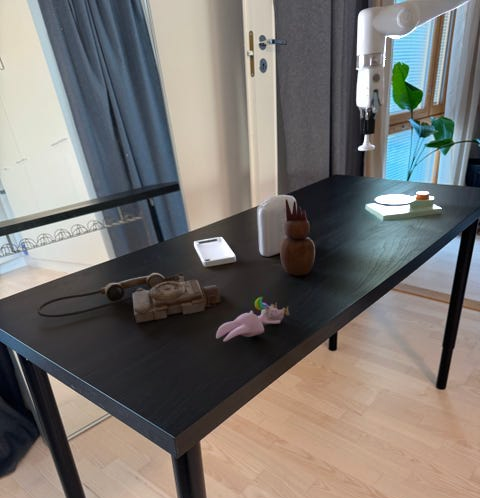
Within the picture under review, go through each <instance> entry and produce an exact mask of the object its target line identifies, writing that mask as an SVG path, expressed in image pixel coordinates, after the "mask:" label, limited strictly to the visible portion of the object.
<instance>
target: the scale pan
mask: <svg viewBox="0 0 480 498" xmlns="http://www.w3.org/2000/svg"><path fill="white" fill-rule="evenodd" d="M413 202H414V198H413V197H412V196H410V195H406V194H384V195H380V196H377V197H375V198H374V203H376V204H378V205H382V206H391V207H396V206H406V205H410V204H412V203H413Z"/></svg>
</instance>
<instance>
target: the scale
mask: <svg viewBox="0 0 480 498" xmlns="http://www.w3.org/2000/svg"><path fill="white" fill-rule="evenodd" d="M411 197H413V198H414V202H413V203H412V204H410V205H406V206H396V207H391V206H382V205H378V204H376V203H375V202H374V203H366V204H365V207H364V209H365V210H366V211H367V212H369V213H370V214H372V215H373V216H375V217H376V218H378V219H379V220H381V221H382V222H384V221H393V220H399V219H409V218H416V217H422V216H430V215H439V214H442V212H443V211H442V210H443V208H442V207H440V206H438V205H436V204H435V198H436V197H434V196H432V195H429V199H427V200H418V199H416V195H413V196H411Z"/></svg>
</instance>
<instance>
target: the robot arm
mask: <svg viewBox="0 0 480 498" xmlns="http://www.w3.org/2000/svg"><path fill="white" fill-rule="evenodd" d="M470 1H471V0H404V1H399V2H397V3H394V4H390V5H386V6H374V7H367V8H364V9H362V10H360V11H359V13H358V16H357V34H356V35H357V36H356V37H357V38H356V40H357V41H356V66H355V67H356V68H355V70H356V71H357V79H356V80H357V81H356V92H355V94H356V95H355V96H356V97H355V98H356V99H355V102H356V107H358V110H359V112H360V113H359V119H360V120H359V121H360V122H359V134H360V135H364V136H365V135H368V134H369V135H374V134H375V133H376V131H375V130H376V119H377V113H378V111H379V110H380V108H381V107H383V106H384V104H385V69H384V67H385V60H386V59H385V58H386V44H387V43H386V42H387V37H389V38H391V39H400V38H403V37H405V36H408V35H410V34H411V33H412V32H413V31H414V30H416V29H418V28H419V27H421V26H423V25H425V24H426V23H429V22H430V21H433V20H434V19H435V18H437V17H440V16H442V15H444V14H446V13H449V12H452V11H454V10H456V9H458V8H460V7H462V6H463V5H465V4H467V3H469V2H470Z"/></svg>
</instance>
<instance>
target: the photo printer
mask: <svg viewBox="0 0 480 498" xmlns="http://www.w3.org/2000/svg"><path fill="white" fill-rule="evenodd" d="M286 199H287V200H288V204H289V207H290V210H291V213H292V212H293V204H294V201H295V203H296V209H297V210H298V204H297V200H296V198H295V197H294V196H293V195H287V194H278V195H275V196H272V197H269V198H267V199H266V200H264V201H263V202H262V203H261V204H259V205H258V207H257V209H256V218H257V219H256V220H257V235H258V236H257V237H258V238H257V239H258V251H259V253H260V255H261V256H263V257H272V256H275V255H278V254H280V247H281V242H282V240H283V239H284V238H285V237H287V236H286V235H285V231H284V225H285V222H286V221H287V218H286Z"/></svg>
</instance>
